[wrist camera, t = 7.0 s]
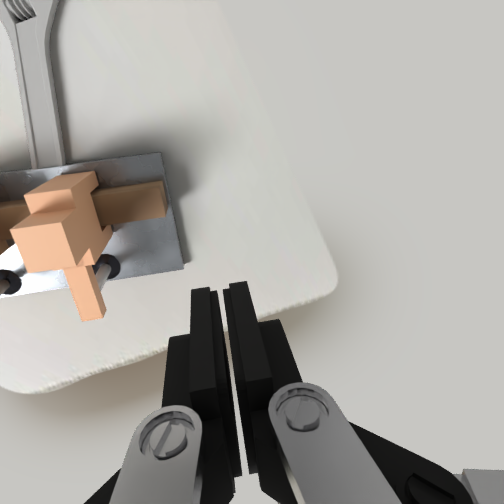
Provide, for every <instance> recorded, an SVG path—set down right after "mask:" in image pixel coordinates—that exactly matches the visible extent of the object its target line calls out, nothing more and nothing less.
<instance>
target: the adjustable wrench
mask: <svg viewBox="0 0 504 504" xmlns="http://www.w3.org/2000/svg"><path fill="white" fill-rule="evenodd" d="M58 3H59V0H0V20H1V22H2V24H3V25H4V27H5V29H6V31H7V34H8V36H9V39H10V41H11V45H12V49H13V53H14V60H15V66H16V72H17V78H18V85H19V91H20V97H21V103H22V110H23V116H24V122H25V129H26V135H27V141H28V147H29V154H30V160H31V166H32V170H36V169H41V168H48V167H56V166H58V167H59V166H64V165H65V164H66V158H65V151H64V145H63V138H62V131H61V125H60V118H59V111H58V105H57V98H56V92H55V85H54V78H53V72H52V65H51V58H50V45H49V44H50V35H51V29H52V25H53V21H54V17H55V13H56V9H57V6H58ZM35 14H36V17H35ZM30 15H31V16H33V18H31V19H28V18H30ZM24 16H25V17H26V18H27V19H28V20H25V17H24ZM17 17H18V18H20V19H21V20H25V21H23V22H19V20H18V18H17Z"/></svg>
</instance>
